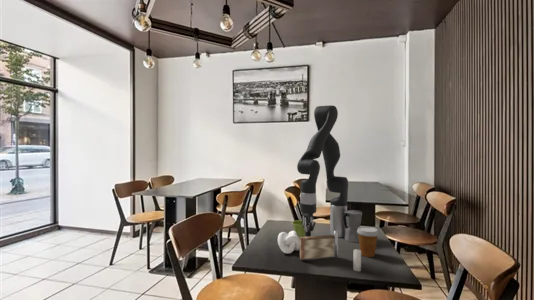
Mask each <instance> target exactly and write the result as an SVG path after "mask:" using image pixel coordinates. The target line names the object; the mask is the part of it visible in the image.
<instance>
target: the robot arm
mask: <svg viewBox="0 0 534 300" xmlns="http://www.w3.org/2000/svg"><path fill="white" fill-rule="evenodd" d="M338 112H339V111H338V108H337V107H336V106H335V105H318V106H316V107H315V108H314V112H313V115H314V116H313V117H314V118H313V119H314V122H315V126H316V128H317V132H316V133H315V134H313V135H312V137H311V139H310V140H309V142H308V146H307V149H306V150H305V152H304V153H303V154H302V156H301V157H300V159H299V160H298V161H297V166H296V168H297V171H298V173H299V174H300V175H307V176H308V175H309V176H308V178H307V179H302V180H301V182H300V195H299V196H300V198H299V200H300V201H299V203H300V204H299V207H300V208H299V211H300V212H301V213H302V214H303V215H302V216H301V220H302V223H303V228H305V237H310V236H312V232H313V231H314V229H315V226H316V221H314V218H315V217H314V214H316V213H317V181H318V177H319V173H320V172H321V171H320V170H321V164H320V162H319V161H318V160H317V159H319V158H320V157H321V156H323V162H324V166H325V174H326V175H325V176H326V185H327V189H328V191H329V192H330V193H337V194H339V196H337V197H334V198H331V199H330V201H329V203H330V204H329V205H330V207H329V208H330V209H329V211H330V215H329V220H330V221H329V229H330V230H329V233H330V234H329V235H334V231H338V238H345V233H346V228H345V225H344V220H343V215H344V213H345V211H348V196H349V195H348V194H349V180H348V178H347V177H346V176H339V175H337V176H335V173H334V172H335V168H336V166H337V164H338V162H339V160H340V159H341V151H340V150H341V149H340V146H339V143H338V141H337V140H336V139H335V138H334V136H333V135H332V134H331V131H332V130H333V128H334V126H335V124H336V122H337V120H338V116H339V113H338ZM321 154H322V155H321Z"/></svg>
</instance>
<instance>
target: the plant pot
mask: <svg viewBox="0 0 534 300" xmlns="http://www.w3.org/2000/svg"><path fill="white" fill-rule="evenodd" d="M291 224H292V226H293V231H295V232H296V233H297V236H298V237H299V238H300V237H305V228H303V223H302V219H301V220H293V221H292V222H291Z"/></svg>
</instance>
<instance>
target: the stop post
mask: <svg viewBox="0 0 534 300" xmlns="http://www.w3.org/2000/svg"><path fill="white" fill-rule="evenodd" d="M352 252H353V253H352V254H353V256H352V257H353V260H352V267H353V269H352V270H353V271H354V272H361V270H362V255H361V250H360V248H358V249H357V248H355V249H353V251H352Z"/></svg>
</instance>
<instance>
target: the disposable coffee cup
mask: <svg viewBox="0 0 534 300" xmlns="http://www.w3.org/2000/svg"><path fill="white" fill-rule="evenodd" d="M357 232H358V237H359V242H358V244H359V245H358V246H359V250H361V257H362V256H363V257H364V258H365V257H366V258H373V257H375V254H376V249H377V241H378V235H379V231H378V229H377V228H376V227H371V226H360V227H359V228H358V230H357Z"/></svg>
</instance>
